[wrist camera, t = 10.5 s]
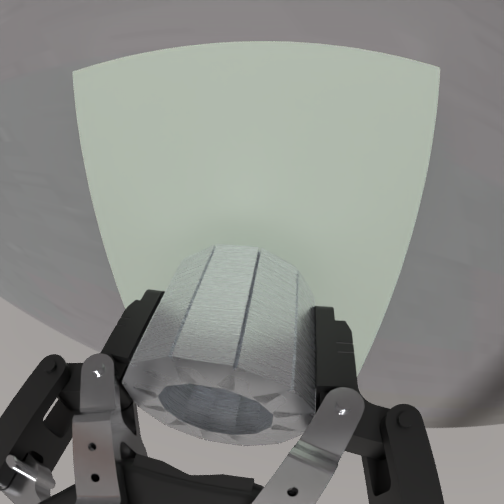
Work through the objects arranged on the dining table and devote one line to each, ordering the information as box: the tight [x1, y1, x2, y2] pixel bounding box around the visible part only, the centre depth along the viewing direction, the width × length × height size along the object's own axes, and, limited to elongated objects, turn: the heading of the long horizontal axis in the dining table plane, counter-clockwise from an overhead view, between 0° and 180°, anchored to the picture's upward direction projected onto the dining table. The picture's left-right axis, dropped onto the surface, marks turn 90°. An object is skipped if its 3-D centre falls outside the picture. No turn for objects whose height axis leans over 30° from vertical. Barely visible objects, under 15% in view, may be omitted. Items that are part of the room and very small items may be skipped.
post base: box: [73, 41, 440, 393], centre depth 12 cm, size 20×14×7 cm
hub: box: [122, 244, 316, 446], centre depth 10 cm, size 6×6×5 cm
